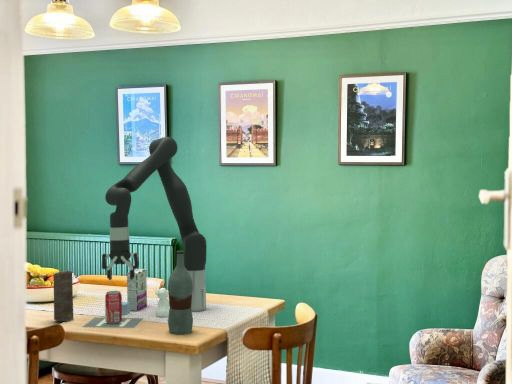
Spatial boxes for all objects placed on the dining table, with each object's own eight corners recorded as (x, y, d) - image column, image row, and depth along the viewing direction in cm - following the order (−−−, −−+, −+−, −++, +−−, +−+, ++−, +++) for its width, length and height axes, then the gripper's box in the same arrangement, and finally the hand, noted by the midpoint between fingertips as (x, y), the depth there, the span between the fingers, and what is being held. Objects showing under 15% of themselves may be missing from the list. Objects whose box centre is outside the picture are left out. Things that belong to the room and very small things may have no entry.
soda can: (107, 325, 252) (107, 293, 252) (103, 321, 258) (103, 291, 258) (123, 323, 255) (123, 292, 255) (119, 320, 261) (119, 289, 260)
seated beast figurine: (178, 315, 273) (178, 286, 272) (171, 319, 264) (171, 289, 264) (157, 314, 275) (156, 285, 274) (149, 318, 266) (149, 289, 266)
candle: (62, 324, 256) (62, 273, 255) (49, 322, 260) (49, 271, 259) (77, 320, 262) (77, 270, 262) (64, 318, 266) (64, 269, 266)
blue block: (129, 314, 275) (129, 302, 275) (126, 316, 270) (126, 304, 270) (117, 313, 275) (117, 301, 275) (114, 316, 270) (114, 304, 270)
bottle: (163, 333, 242) (162, 251, 241) (175, 327, 251) (174, 249, 250) (186, 335, 239) (185, 253, 238) (197, 329, 247) (197, 250, 246)
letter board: (144, 319, 264) (144, 318, 264) (134, 329, 248) (134, 327, 248) (94, 319, 265) (94, 317, 265) (81, 328, 249) (81, 327, 249)
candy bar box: (136, 305, 291) (136, 268, 291) (147, 306, 290) (147, 269, 290) (126, 311, 280) (126, 272, 280) (137, 311, 279) (137, 272, 279)
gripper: (139, 237, 263) (140, 277, 264) (104, 237, 264) (105, 278, 264) (135, 239, 256) (136, 280, 256) (99, 239, 256) (100, 281, 257)
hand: (120, 279), depth 260 cm, fingers open, 8 cm apart
